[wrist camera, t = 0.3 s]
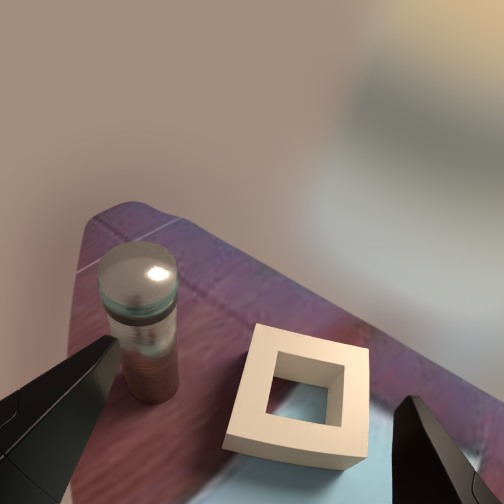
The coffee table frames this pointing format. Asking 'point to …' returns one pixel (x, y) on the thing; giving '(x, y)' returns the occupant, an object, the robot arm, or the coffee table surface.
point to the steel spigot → (143, 316)
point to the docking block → (309, 372)
